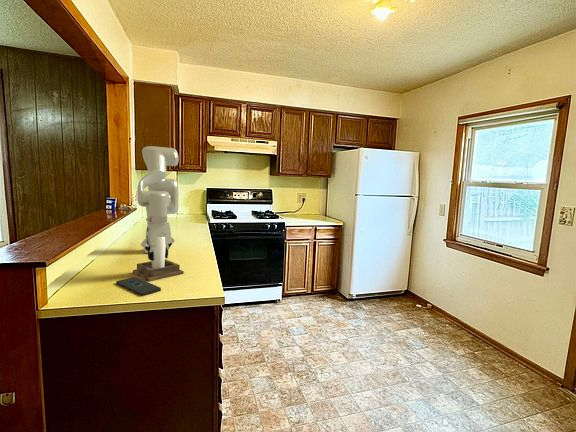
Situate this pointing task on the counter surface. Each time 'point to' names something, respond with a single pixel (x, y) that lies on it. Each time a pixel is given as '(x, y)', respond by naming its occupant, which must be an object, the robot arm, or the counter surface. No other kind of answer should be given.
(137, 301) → the counter surface
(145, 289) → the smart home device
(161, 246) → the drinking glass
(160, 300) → the counter surface
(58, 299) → the counter surface
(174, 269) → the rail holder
